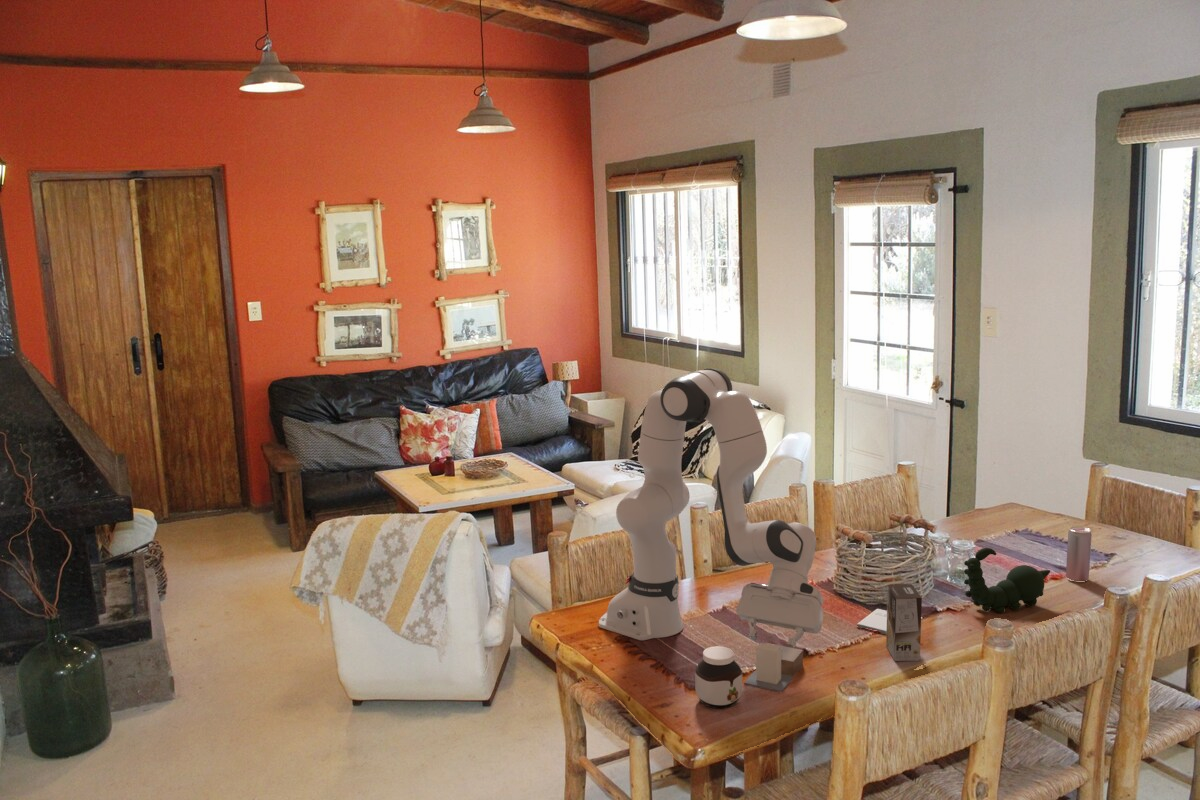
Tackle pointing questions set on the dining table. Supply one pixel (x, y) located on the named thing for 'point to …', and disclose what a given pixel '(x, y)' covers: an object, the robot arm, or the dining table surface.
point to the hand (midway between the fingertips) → (771, 642)
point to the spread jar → (718, 678)
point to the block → (768, 663)
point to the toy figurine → (1003, 585)
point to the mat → (770, 686)
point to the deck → (790, 660)
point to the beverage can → (1078, 553)
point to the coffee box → (903, 622)
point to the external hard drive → (875, 621)
